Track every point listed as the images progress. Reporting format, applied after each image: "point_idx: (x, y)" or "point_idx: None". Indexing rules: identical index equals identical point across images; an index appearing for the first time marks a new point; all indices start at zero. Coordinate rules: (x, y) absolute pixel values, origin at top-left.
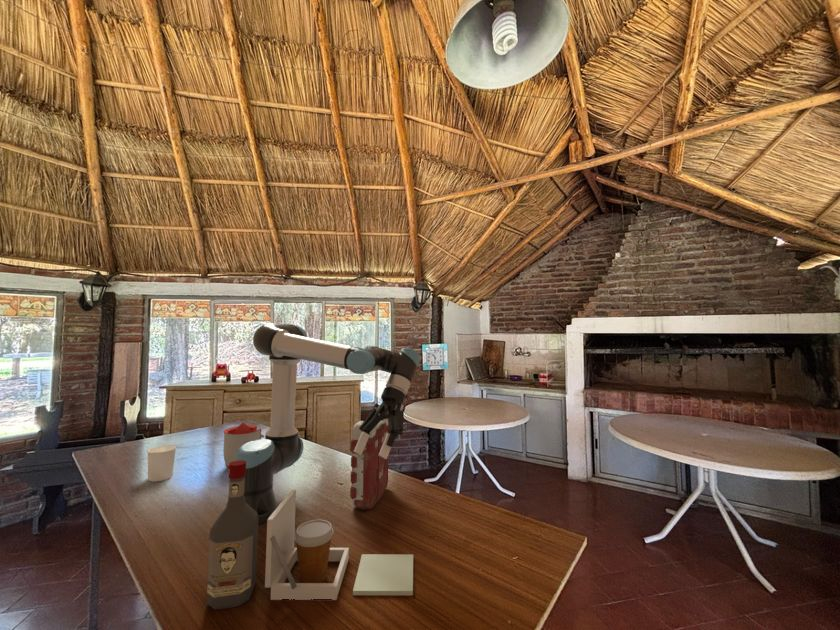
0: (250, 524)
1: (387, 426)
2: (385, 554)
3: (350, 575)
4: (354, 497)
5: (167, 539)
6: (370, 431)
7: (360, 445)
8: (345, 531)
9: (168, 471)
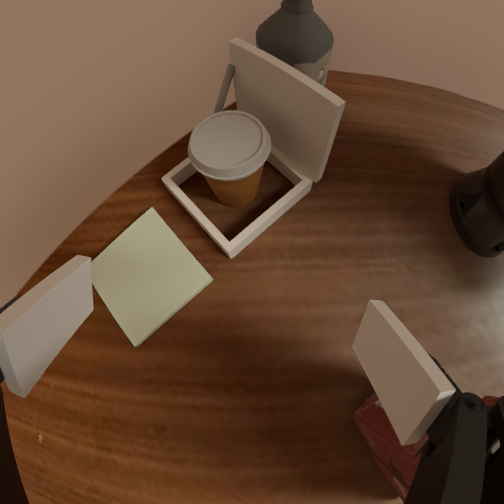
0: (260, 34)
1: None
2: (175, 310)
3: (191, 233)
4: None
5: (458, 118)
6: (418, 464)
7: (382, 346)
8: (323, 317)
9: None
